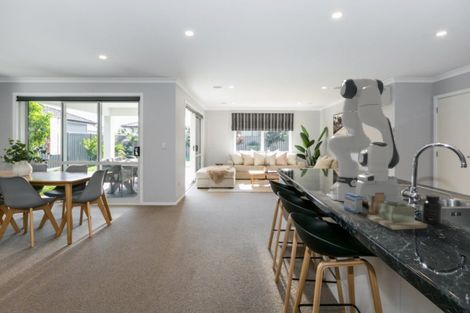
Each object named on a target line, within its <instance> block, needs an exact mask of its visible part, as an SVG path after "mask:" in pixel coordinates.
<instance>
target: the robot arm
mask: <svg viewBox="0 0 470 313" xmlns="http://www.w3.org/2000/svg"><path fill="white" fill-rule="evenodd" d="M384 89H385V85H384V83H383V81H382V80H380V79H377V78H376V79H375V78H353V79H352V78H348V79H347V78H346V79H345V80H343V81H342V83H341V84H340V89H339V90H340V92H339V94H340V95H341V97H342V98H344V102H343V107H342V115H341V125H342V126H343V128H345V129H347V131H348V135H347V134H338V135H334V136H330V138H329V139H328V142H327V147H328V149H329V151H330V152H331V153H332V154H333V155H334V156H335V158H336V160H337V164H338V176H336V182H335V183H334V184H332V185H331V186H330V188H329V191H330V192H329V193H326V196H327V197H328V198H330V199H331V200H332V201H339V202H344V196H345V193H353V194H357V195H358V196H361V197H366V199H367V204H368V206H369V205H370V206H371V205H373V202H372V201H371V198H372V196H375V193H384V202H385V200H386V199H387V196H396V195H397V194H398V184H399V183H398V178H397V177H395V176H394V175H391V176H390V175H389V172H390V169H392V170H393V169H394V168H395V167H397V166H398V164H399V163H400V155H399V151H398V149H397V145H396V142H395V141H396V140H395V136H394V133H393V127H392V124H391V121H390V118H388V117H387V116H386V115H385V113H384V110H383V108H382V105H383V104H382V102H383V101H382V95H383V93H384ZM363 124H364V125H366V126H369V127H371V128H374V129H376V130H377V131H379V132H380V134H381V138H382V142H381V141H373V142H372V141H371V139H370V137H369V136H367V135H366V133H365V130H364V128H363ZM351 154H358V158H357V159H358V161H356V160H354V159H353V158H352V155H351ZM359 165H361V166H362V167H364V168H367V171H366V172H365V171H364V172H363V173H360V174H359V171H360V170H359V168H360V166H359ZM397 183H398V184H397Z"/></svg>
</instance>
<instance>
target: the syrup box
mask: <svg viewBox="0 0 470 313" xmlns="http://www.w3.org/2000/svg"><path fill="white" fill-rule="evenodd" d="M397 184H398V194H397V195H396V196H387V199H386V200H385V202H399V203H400V184H399V183H398V182H397ZM385 202H384V203H385Z"/></svg>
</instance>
